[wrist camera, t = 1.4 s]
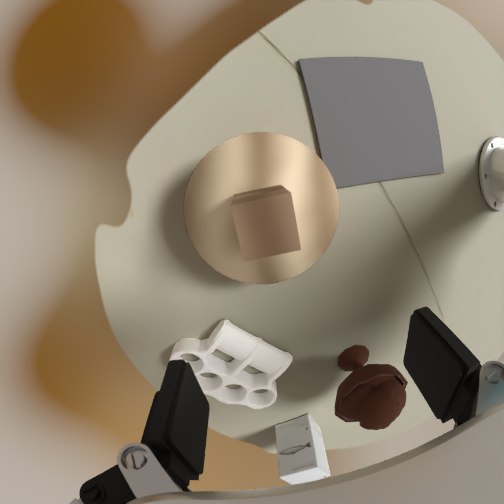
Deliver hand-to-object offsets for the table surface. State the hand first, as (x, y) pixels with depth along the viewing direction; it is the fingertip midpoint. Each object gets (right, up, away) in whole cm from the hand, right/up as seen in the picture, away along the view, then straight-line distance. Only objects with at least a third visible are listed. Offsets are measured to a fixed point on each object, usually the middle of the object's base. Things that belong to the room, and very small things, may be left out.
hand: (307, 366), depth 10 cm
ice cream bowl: (+14, -12, +30) cm, 35 cm away
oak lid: (-1, +9, +16) cm, 18 cm away
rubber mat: (+14, +21, +17) cm, 30 cm away
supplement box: (+7, -30, +36) cm, 48 cm away
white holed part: (-5, -13, +30) cm, 33 cm away
